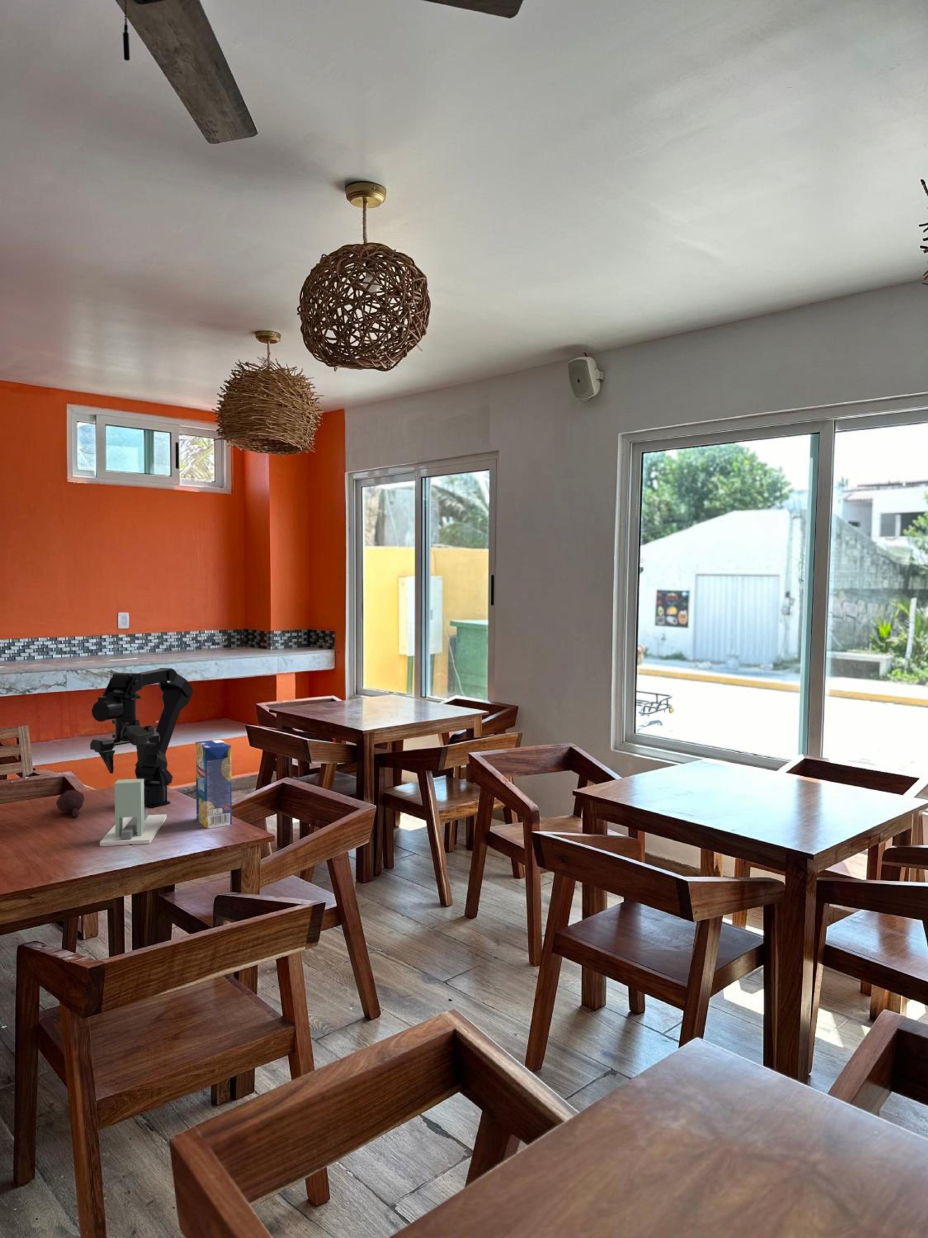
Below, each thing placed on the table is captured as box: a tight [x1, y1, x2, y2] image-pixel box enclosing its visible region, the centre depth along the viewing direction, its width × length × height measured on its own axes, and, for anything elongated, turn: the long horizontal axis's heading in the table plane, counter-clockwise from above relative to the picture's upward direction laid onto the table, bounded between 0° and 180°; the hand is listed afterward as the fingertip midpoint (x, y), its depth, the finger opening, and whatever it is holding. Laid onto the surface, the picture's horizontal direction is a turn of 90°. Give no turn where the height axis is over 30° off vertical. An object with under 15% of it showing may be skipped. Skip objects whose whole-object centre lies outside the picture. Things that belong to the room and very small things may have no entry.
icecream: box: [55, 789, 85, 818], centre depth 239 cm, size 7×7×15 cm
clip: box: [114, 778, 145, 837], centre depth 215 cm, size 4×6×14 cm, turn 100°
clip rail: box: [99, 808, 167, 847], centre depth 221 cm, size 24×12×3 cm, turn 10°
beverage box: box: [195, 739, 233, 829], centre depth 230 cm, size 7×11×22 cm, turn 32°
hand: (126, 770), depth 236 cm, fingers open, 9 cm apart
